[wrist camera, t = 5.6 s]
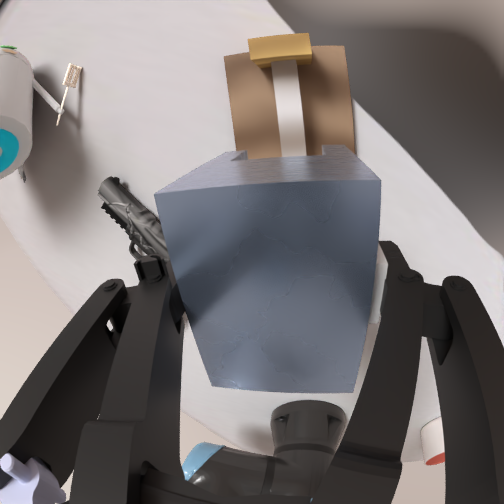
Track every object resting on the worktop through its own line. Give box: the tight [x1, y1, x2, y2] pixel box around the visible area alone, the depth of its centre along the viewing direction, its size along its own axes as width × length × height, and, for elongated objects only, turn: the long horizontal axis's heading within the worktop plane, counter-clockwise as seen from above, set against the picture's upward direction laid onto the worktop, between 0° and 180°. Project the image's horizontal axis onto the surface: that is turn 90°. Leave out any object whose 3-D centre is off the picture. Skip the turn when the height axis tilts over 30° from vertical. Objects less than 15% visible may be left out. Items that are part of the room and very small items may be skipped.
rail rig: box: [224, 33, 355, 160], centre depth 25 cm, size 20×12×6 cm, turn 7°
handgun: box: [98, 176, 170, 264], centre depth 37 cm, size 20×3×14 cm
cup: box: [421, 417, 445, 465], centre depth 42 cm, size 10×10×10 cm
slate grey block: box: [154, 145, 381, 393], centre depth 13 cm, size 9×6×8 cm
